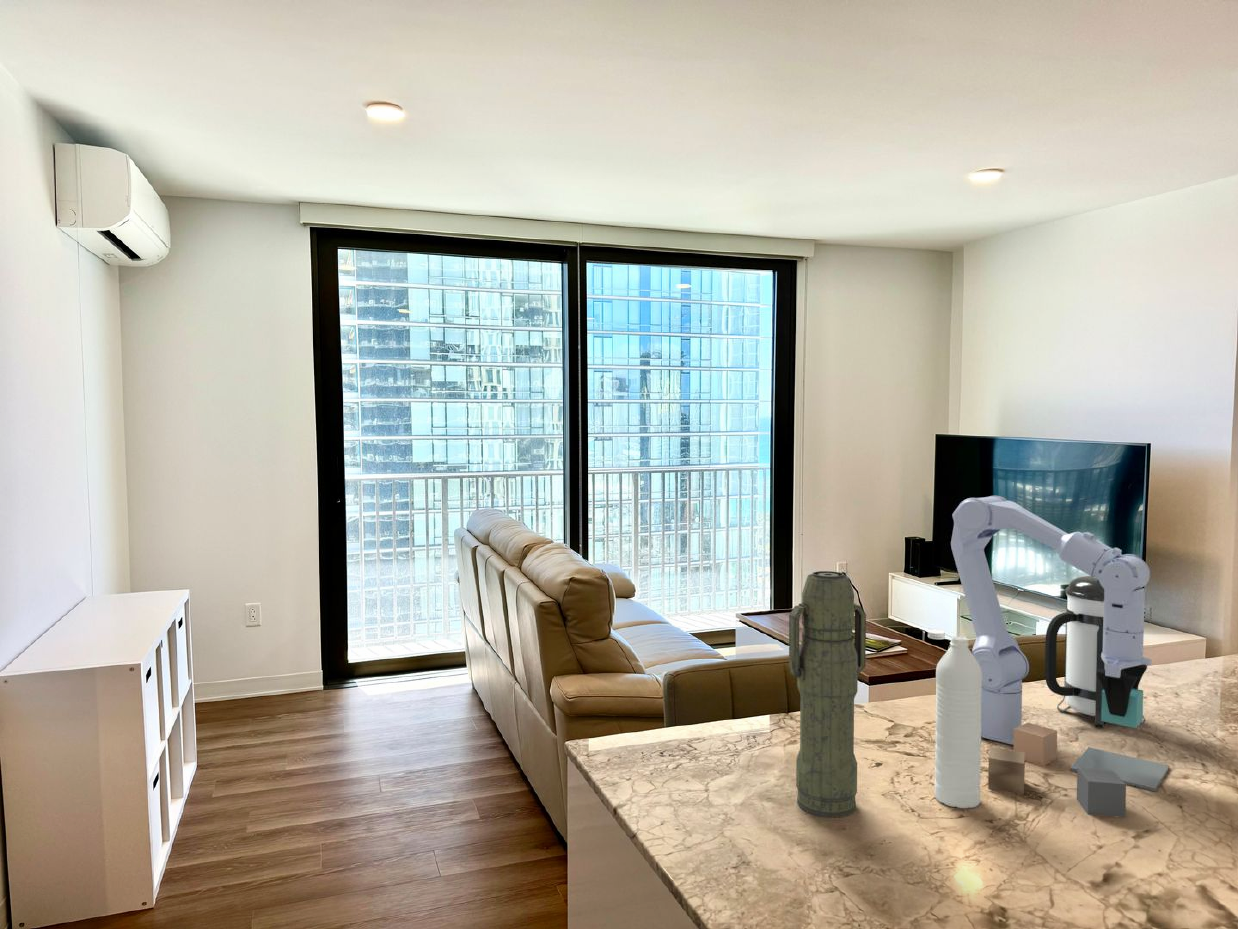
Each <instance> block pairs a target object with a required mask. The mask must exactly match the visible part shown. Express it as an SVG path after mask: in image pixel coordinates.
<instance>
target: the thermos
mask: <svg viewBox="0 0 1238 929" xmlns="http://www.w3.org/2000/svg"><path fill="white" fill-rule="evenodd" d="M800 617H801V625H802V632H801V642H800ZM788 618H789V621H788V628H789V630H788V633H789V634H788V663H789V666H788V667H789V674H790V675H792V676H793V677H796V678H797V680H796V683H797V690H798V692H799V694H800V701H799V702H800V704H799V705H800V711H799V712H800V715H799V716H800V718H799V720H800V722H799V723H800V725H799V727H800V728H799V735H800V736H799V738H800V739H799V742H800V743H799V751H798V754H797V756H796V763H795V764H796V767H795V768H796V771H795V772H796V773H795V774H796V776H795V781H796V782H795V787H796V789H797V798H796V799H797V801H796V802H797V805H798V807H799V808H800V809H802V810H803V811H804V810H805V811H804V812H807V813H809V814H810V815H814V816H817V817H818V816H819V817H825V818H843V817H847V816H849V815H851V814H854V812H855V811H856V810H857V808H856V807H857V803H856V795H857V793H858V761H857V758H856V756H855V753H854V751H855V750H854V744H855V743H854V742H855V740H854V739H855V736H854V735H855V698H856V696H857V694H858V685H859V684H858V680H859V678H858V677H859V676H860V674H861V672H862V671H863V670H864V669H865V668H866V665H867V664H866V654H867V652H866V645H867V644H866V638H867V635H866V634H867V631H866V630H867V614H866V612H865V611H864V609H863V607H862V606H861V605H859V604H857V603H855V593H854V589H853V586H852V583H851V579H850V577H849V576H848V575H845V574H844V573H843V572H839V571H830V570H828V571H827V570H819V571H813V572H812V573H810V574H808V575H807V577H806V579H805V583H804V585H803V590H802V593H801V603H798V605H794V607H793V609H792V610H791V611H790V613H789V617H788ZM853 629H854V635H853Z"/></svg>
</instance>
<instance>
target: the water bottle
mask: <svg viewBox="0 0 1238 929" xmlns="http://www.w3.org/2000/svg"><path fill="white" fill-rule="evenodd" d="M927 637H928V638H929V639H932V640H945V639H946V633H945V631H944V630H939V629H930V630H928V631H927ZM950 639H951V640H950V642H949V645H950V647H949V648H948V649H947V650H946V652H945V653H944V654H943V655H942V657H941V658H940V660H938V662H937V665H936V669H935V678H936V679H935V681H936V682H935V686H936V689H935V692H936V693H935V698H936V699H935V722H934V723H935V733H934V735H935V736H934V739H935V740H934V741H935V746H934V750H935V753H934V766H935V768H934V779H935V780H934V786H933V787H934V793H933V794H934V798H936V800H937V801H938V802H940V804H941V803H942V804H944V805H946V806H948V807H952V808H955V807H956V808H958V809H969V808H970V809H972V808H976V807H977V806H979V804H981V787H980V786H981V769H982V767H981V760H982V751H981V747H982V737H981V736H980V735H981V702H982V700H981V697H982V694H981V692H982V688H981V687H982V671H981V668H980V665H979V664H978V662H977V661H976V659H975V658H974V656H973V653H972V652H971V650H970V649H969V646H970V644H969V640H968V638H966V637H963V636H952V637H951V638H950Z"/></svg>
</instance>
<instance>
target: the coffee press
mask: <svg viewBox="0 0 1238 929" xmlns="http://www.w3.org/2000/svg"><path fill="white" fill-rule="evenodd" d="M1137 590H1139V589H1137ZM1134 591H1136V590H1134ZM1065 594H1066V596H1067V602H1066V603H1067V606H1066V607H1065V612H1062V613H1059V614H1057V615H1055V616H1054V617H1053V618H1051V620H1050V622H1049V623H1048V626H1047V629H1046V633H1045V640H1044V641H1045V644H1044V646H1045V647H1044V678H1045V683H1046V686H1047V687H1048V689H1049V690H1050V691H1051V693H1054V694H1056V695H1059V696H1063V698H1062V700H1060V701H1059V703H1058V704H1057V708H1056V709H1057V711H1059V712H1060V713H1064V712H1066V711H1068V710H1069V709H1072V710H1074V711H1077V712H1078V713H1081V714H1084V715H1088V716H1091V717H1094V718H1095V719H1094V721H1095V722H1094V727H1095V728H1100V729H1104V721H1101V710H1102V691H1103V690H1104V688H1103V686H1102V684H1101V682H1100V680H1099V678H1098V676H1097V670H1098V669H1105V663H1104V661H1103V660H1102V658H1101V653H1102V652H1103V616H1104V588H1103V587H1102V586H1101V584H1100V582H1099V580H1098V579H1095V578H1093V577H1092V576H1090V575H1085V576H1079V577H1076V578H1074V579H1072V580H1071V581H1070V582H1069V584H1068V586H1067V587H1066V588H1065ZM1064 625H1065V638H1064V640H1065V647H1064V648H1065V649H1064V685H1063V686H1061V685H1060V684H1059V683H1058V679H1057V646H1058V645H1057V640H1058V635H1059V634H1058V633H1059V631H1060V629H1061V627H1062V626H1064ZM1065 700H1066V703H1067V705H1068V706H1067V707H1065V708H1063V709H1061V708H1060V707H1059V706H1060V705H1062V703H1064V701H1065ZM1145 723H1146V718H1145V716H1144V715H1143V719H1142V721H1141V723H1140V724H1139V725H1143V724H1145Z"/></svg>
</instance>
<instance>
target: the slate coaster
mask: <svg viewBox="0 0 1238 929" xmlns="http://www.w3.org/2000/svg"><path fill="white" fill-rule="evenodd" d="M1077 768H1086V769H1099V770H1112V771H1114V772H1115V773H1116V774H1117V775H1118V776H1119V777H1120V778H1121V779H1122V780H1123V781H1124V783H1125V784H1126V786H1127V785H1128V786H1130V785H1132V786H1131V787H1134V786H1136V787H1135V788H1138V787H1139V788H1138V789H1142V788H1143V789H1142V790H1146V791H1151V792H1155V791H1157V790H1158V788H1159V787H1158V786H1160V785H1161V783H1162V781H1163V780H1164V778H1165V776H1167V773H1168V771H1169V770H1170V765H1169V764H1165V763H1160V762H1158V761H1157V762H1156V761H1151V760H1148V759H1143V758H1138V757H1133V756H1129V755H1125V754H1121V753H1116V752H1112V751H1108V750H1104V749H1103V750H1102V749H1099V748H1095V747H1094V748H1093V747H1087V748H1086V750H1085V751H1083V753H1082V754H1081V755H1080V756H1079V758H1077V759H1076V761H1075V762H1073V764H1072V765H1071V766H1070V768H1069V770H1070V772H1074V773H1077Z"/></svg>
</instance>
